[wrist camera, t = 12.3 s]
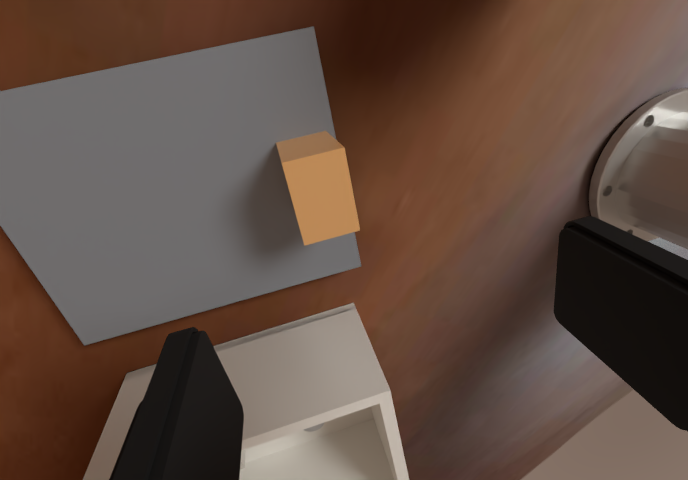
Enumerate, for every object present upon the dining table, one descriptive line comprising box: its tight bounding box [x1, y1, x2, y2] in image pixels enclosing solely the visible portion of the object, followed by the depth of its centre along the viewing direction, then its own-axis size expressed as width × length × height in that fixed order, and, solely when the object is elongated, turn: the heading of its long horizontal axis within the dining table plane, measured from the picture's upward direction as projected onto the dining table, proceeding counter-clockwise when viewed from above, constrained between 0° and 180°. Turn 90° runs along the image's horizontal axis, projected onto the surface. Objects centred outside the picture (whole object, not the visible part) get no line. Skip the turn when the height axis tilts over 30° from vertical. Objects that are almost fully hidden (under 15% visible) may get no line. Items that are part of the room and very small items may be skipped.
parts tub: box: [83, 303, 409, 480], centre depth 28 cm, size 18×14×9 cm
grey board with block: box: [0, 26, 361, 346], centre depth 20 cm, size 19×15×7 cm
